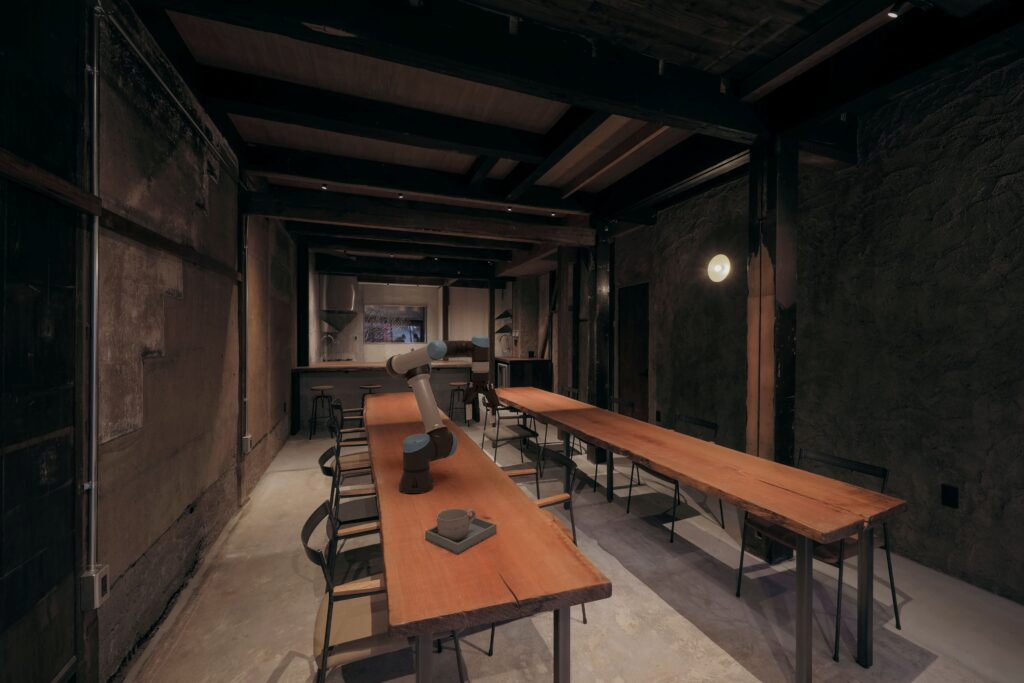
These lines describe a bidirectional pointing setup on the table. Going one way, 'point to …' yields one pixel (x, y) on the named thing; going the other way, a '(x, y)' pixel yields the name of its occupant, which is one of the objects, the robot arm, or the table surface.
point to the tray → (475, 534)
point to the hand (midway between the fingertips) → (480, 421)
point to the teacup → (454, 523)
